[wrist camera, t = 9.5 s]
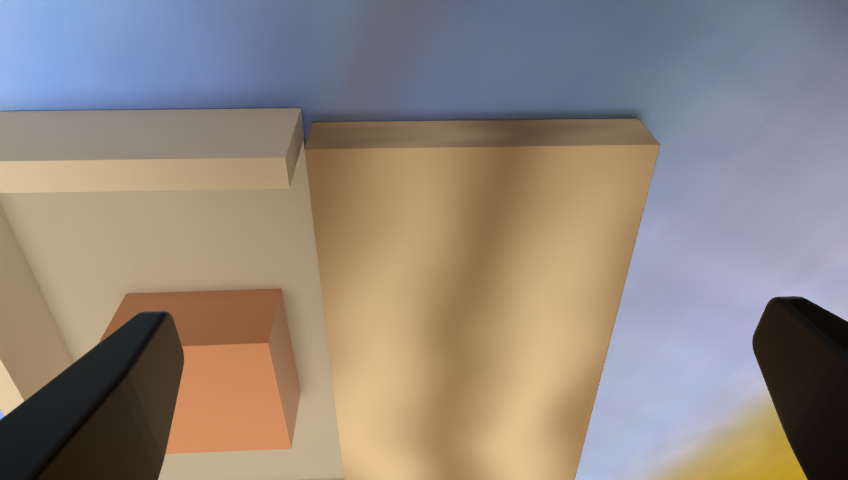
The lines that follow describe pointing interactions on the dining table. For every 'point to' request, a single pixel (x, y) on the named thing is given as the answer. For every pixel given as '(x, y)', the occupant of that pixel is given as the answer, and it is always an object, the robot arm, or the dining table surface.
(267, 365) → the block
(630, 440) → the dining table surface
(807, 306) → the robot arm
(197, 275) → the box
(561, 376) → the wooden board
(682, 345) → the dining table surface
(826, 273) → the dining table surface
